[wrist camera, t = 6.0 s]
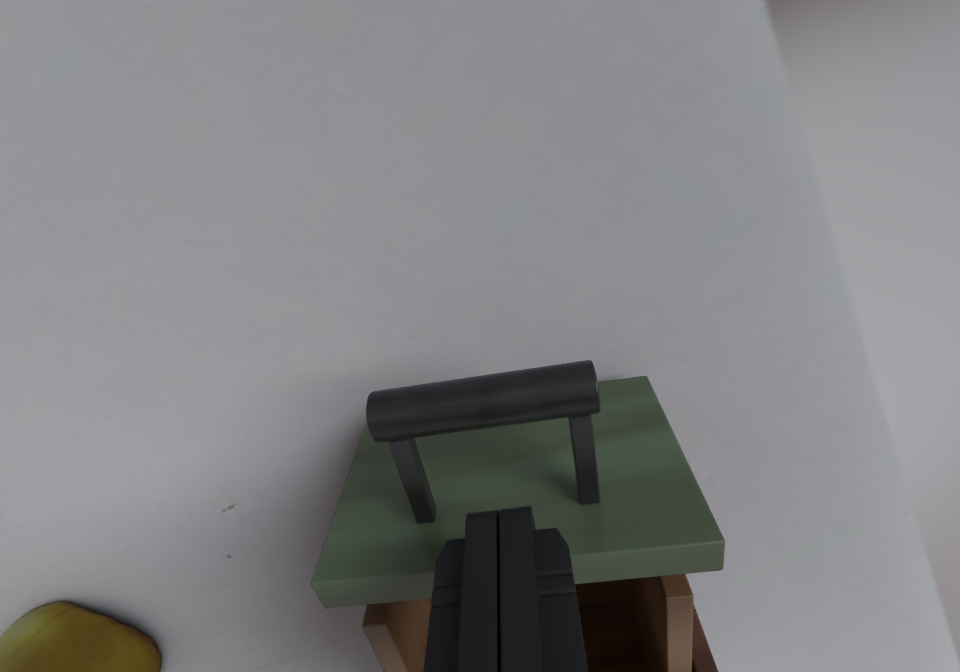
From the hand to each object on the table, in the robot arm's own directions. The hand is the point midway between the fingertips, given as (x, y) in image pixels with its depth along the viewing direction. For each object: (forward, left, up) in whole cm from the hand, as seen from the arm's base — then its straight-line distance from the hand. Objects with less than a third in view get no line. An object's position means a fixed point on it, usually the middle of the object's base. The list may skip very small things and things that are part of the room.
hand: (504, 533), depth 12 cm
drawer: (+6, +3, -9) cm, 11 cm away
